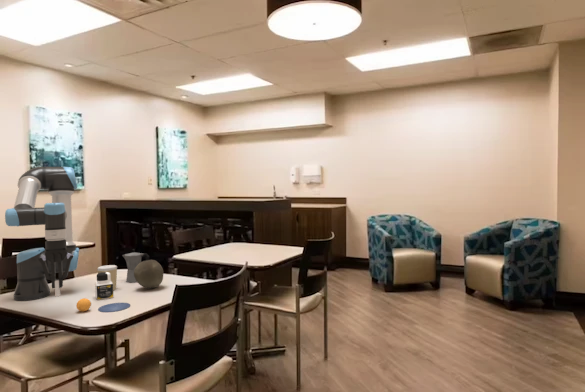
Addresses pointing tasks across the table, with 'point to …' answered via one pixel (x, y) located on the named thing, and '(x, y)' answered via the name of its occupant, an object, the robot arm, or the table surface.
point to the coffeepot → (133, 264)
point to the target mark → (114, 307)
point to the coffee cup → (113, 272)
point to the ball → (83, 304)
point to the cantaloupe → (149, 274)
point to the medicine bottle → (103, 286)
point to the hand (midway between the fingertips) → (57, 295)
